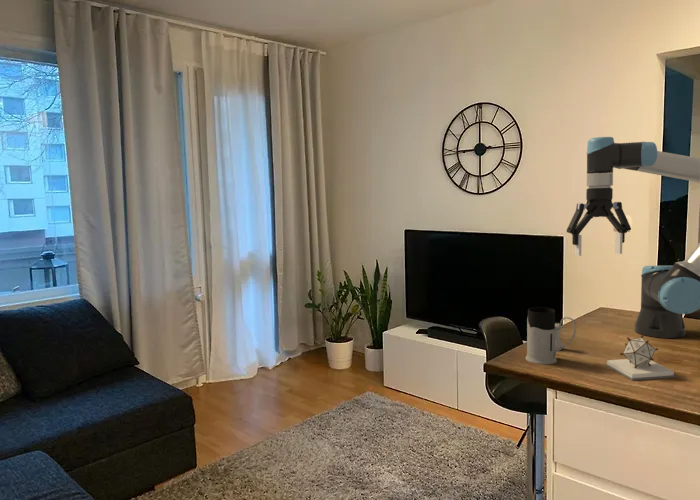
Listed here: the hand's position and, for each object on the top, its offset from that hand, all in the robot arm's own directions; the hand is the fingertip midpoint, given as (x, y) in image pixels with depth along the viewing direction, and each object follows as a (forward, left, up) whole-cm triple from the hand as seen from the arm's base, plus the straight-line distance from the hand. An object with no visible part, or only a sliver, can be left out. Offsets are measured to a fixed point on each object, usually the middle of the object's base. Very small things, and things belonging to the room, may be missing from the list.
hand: (598, 254), depth 173 cm
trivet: (+4, +28, -29) cm, 40 cm away
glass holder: (+23, +15, -29) cm, 40 cm away
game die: (+4, +28, -27) cm, 39 cm away
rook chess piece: (+16, +4, -29) cm, 33 cm away
